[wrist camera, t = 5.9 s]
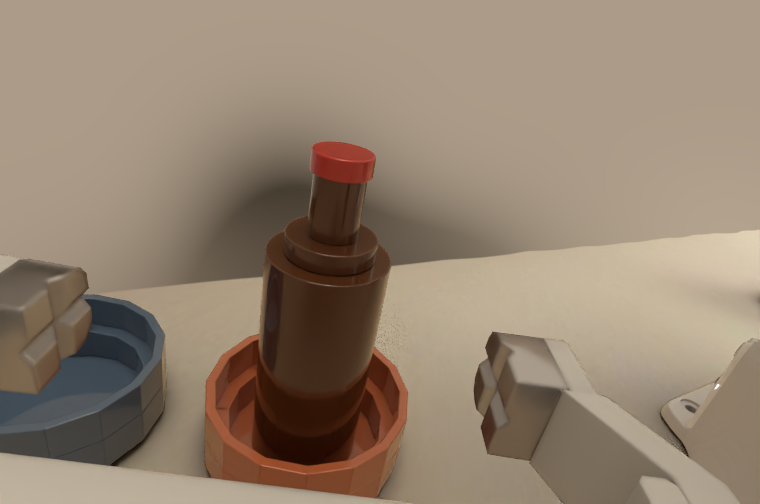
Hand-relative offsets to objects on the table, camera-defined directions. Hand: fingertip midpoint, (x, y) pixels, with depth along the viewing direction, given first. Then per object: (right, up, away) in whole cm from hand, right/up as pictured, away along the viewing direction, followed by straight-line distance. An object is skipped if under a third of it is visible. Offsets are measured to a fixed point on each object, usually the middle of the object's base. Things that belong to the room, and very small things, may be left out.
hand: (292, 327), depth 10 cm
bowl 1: (-17, -8, +18) cm, 26 cm away
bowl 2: (-3, -10, +19) cm, 21 cm away
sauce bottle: (-3, -10, +18) cm, 21 cm away
